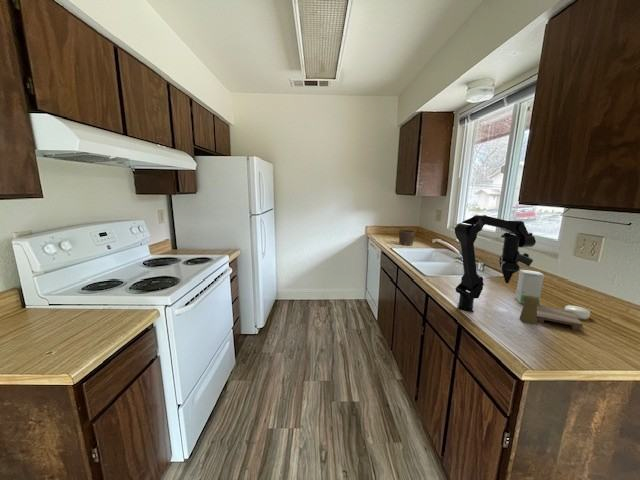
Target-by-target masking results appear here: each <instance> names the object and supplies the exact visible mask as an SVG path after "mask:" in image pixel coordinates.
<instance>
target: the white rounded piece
mask: <svg viewBox="0 0 640 480" xmlns="http://www.w3.org/2000/svg"><path fill="white" fill-rule="evenodd" d="M564 310H568V311H572V312H573V313H574V314H575V315H576V317H577V318H578V319H579V320H589V319H590V315H591V311H590V310H589V309H587V308H585V307H580V306H578V305H577V306H576V305H569V304H568V305H565V306H564Z"/></svg>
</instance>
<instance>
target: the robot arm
mask: <svg viewBox="0 0 640 480" xmlns="http://www.w3.org/2000/svg"><path fill="white" fill-rule="evenodd" d="M484 226H488V227H489V226H490V227H493V228H494V227H495V228H498V229H500V230H502V231H503V232H504V233H502V234H501V236H500V238H503V245H502V249H501V250H502V253H501V255H500V256H499V257H498V260H499V266H500V269H501V272H502V275H503V279H504V282H505V284H509V283H510V281H511V279H512V277H513V275H514V274H515V273H519V272H520V268H521V267H520V264H518V263H521V264H523V265H525V266H527V267H530V266H531V264H532V263H533V262H534V259H533V258H532V257H530V255H529V253H526V252H523V253H520V251H519V248H533V247H534V246H535V245H536V242H537V240H536V238H535V236H533V232H529V231H528V230H527V227H526V225H525V222H524V221H522V220H514V219H502V218H498V217H493V216H489V215H486V214H475V215H473V216H472V217H469V218H468V219H465V220H462V222H460V223H458V224H456V225H455V227H454V234H455V237H456V240H458V242H459V243H460V248H461V249H460V250H461V257H462V264H463V275H462V277H461V280H460V281H461V282H460V283H459V284H458V285H457V286H456V287H455V292H456V293H458V294H459V299H458V302H457V306H456V308H457V310H463V311H468V312H472V313H474V311H475V310H474V309H475V306H474V300H475V299H479V298H480V296H481V294H482V291H483V289H484V286H485V284H484V278H483V276H482V275H479V274H478V271H477V263H476V254H475V253H476V252H475V242H476V240H477V238H478V233H479V232H481V231H482V230H483V228H484ZM518 271H519V272H518Z"/></svg>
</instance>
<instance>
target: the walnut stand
mask: <svg viewBox="0 0 640 480" xmlns="http://www.w3.org/2000/svg"><path fill="white" fill-rule="evenodd" d="M580 320H581V319H579V318H577V317H576V315H575V314H574V313H573V312H572V311H568V310H565V309H562V308H557V307H556V308H555V307H550V306H546V305H545V306H544V305H540V304H539V305H537V324H538V323H539V324H545V323H544V322H545V321H550V322H555V323H560V324H565V325H570V328H571V330H573V331H578V332H579V331H580V329H581V328H583V326H584V325H583V323H582V322H581V321H580Z"/></svg>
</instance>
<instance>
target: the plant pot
mask: <svg viewBox="0 0 640 480" xmlns="http://www.w3.org/2000/svg"><path fill="white" fill-rule="evenodd" d="M416 232H417V231H415V230H412V229H411V230H410V229H398V238H399V241H398V242H399V245H400V246H405V247H412V246H413V243H414V239H415V235H416Z"/></svg>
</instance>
